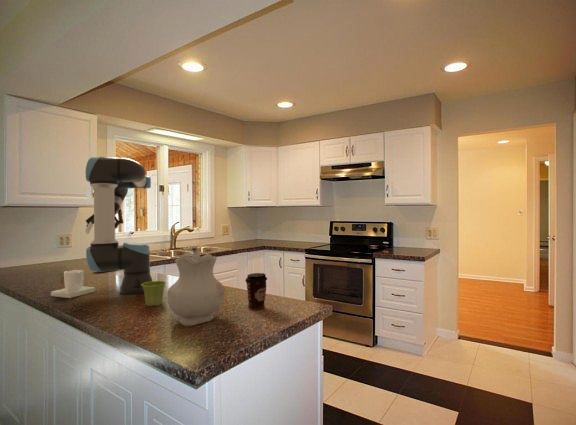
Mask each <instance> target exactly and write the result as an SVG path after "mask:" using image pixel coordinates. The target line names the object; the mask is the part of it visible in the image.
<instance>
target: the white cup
mask: <svg viewBox="0 0 576 425" xmlns="http://www.w3.org/2000/svg"><path fill="white" fill-rule="evenodd" d="M63 280H64V289H65V290H66V293H73V292H77V291H81V290H83V286H84V270H83V269H75V270H67V271H64V272H63Z"/></svg>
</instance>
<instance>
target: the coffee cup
mask: <svg viewBox="0 0 576 425" xmlns="http://www.w3.org/2000/svg"><path fill="white" fill-rule="evenodd" d="M267 280H268V277H267V276H266V273H264V272H262V273H261V272H254V273H249V274H247V277H246V278H245V280H244V281H245V283H246V289H247V300H248V306H247V307H248V309H249V310H252V311H258V310H262V309H264V308H265V301H266V295H267V294H266V292H267Z"/></svg>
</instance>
